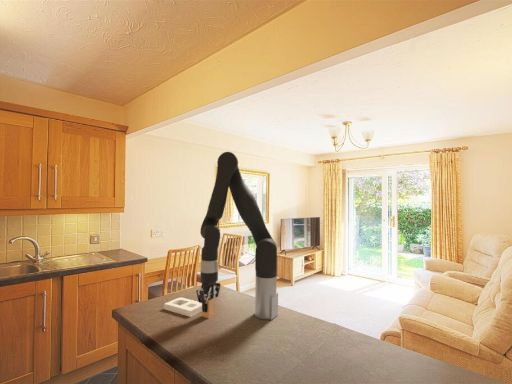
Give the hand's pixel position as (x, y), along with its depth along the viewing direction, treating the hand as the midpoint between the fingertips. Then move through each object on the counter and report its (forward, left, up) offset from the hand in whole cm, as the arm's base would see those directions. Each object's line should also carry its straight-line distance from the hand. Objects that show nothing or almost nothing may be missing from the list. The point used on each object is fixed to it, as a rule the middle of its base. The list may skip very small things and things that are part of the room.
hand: (208, 309), depth 120 cm
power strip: (+13, 0, -2) cm, 14 cm away
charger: (0, 0, -2) cm, 2 cm away
